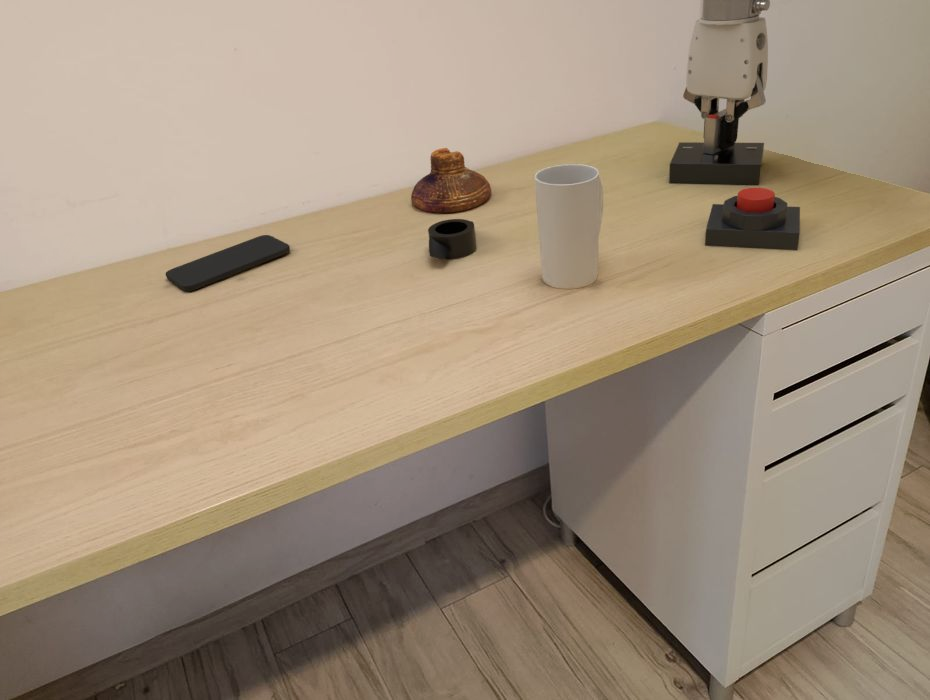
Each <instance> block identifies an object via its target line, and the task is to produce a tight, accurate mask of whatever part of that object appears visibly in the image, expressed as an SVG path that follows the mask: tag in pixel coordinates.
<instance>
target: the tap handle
mask: <svg viewBox="0 0 930 700" xmlns="http://www.w3.org/2000/svg"><path fill="white" fill-rule="evenodd" d="M725 115H726V108H724V109H722V110H720V111H718V113H715V114H713V115H712V114H711V115H708V116H707V118H705V119H704V121H705V132H704V131H703V143H704V147H703V153H706V154H715V153H717V152H719V151H721V149H720V148H719V145H720V131H721V123H722V122H723V121H725Z"/></svg>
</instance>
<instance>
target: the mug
mask: <svg viewBox="0 0 930 700" xmlns="http://www.w3.org/2000/svg"><path fill="white" fill-rule="evenodd" d="M534 187H535V188H534V189H535V190H534V191H535V203H536V204H535V205H536V216H537V228H538V229H537V230H538V231H537V232H538V241H539V243H538V244H539V257H540V267H541V277H542V281H543V283H545V284H546V285H547V286H549V287H552V288H555V289H561V290H575V289H581V288H585V287H588V286H590V285H592V284H593V283H594V282H595V281H596V280H598V277H599V275H598V273H599V253H600V252H599V245H600V244H599V240H600V239H599V237H600V234H601V226H602V221H603V213H604V189H603V185H602V181H601V178H600V170H599V169H598V168H596V167H594V166H591V165H589V164H581V163H565V164H557V165H552V166H548V167H545V168H541V169H540V170H539V171H537V172H536V173H535V174H534Z"/></svg>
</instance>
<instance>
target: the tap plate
mask: <svg viewBox="0 0 930 700" xmlns="http://www.w3.org/2000/svg"><path fill="white" fill-rule="evenodd" d="M703 147H704V142H702V141H701V142H696V141H695V142H693V141H692V142H691V141H690V142H688V141H687V142H684V141H683V142H680V141H679V142H678V145H677V146H676V149H675V151H674V154H673V156H672V158H671V161H670V162H669V177H668V178H669V179H668V183H669V184H672V185H673V184H675V185H677V184H678V185H712V186H713V185H714V186H715V185H716V186H717V185H718V186H757V187H758V186H760V182H761V181H760V180H761V173H762V168H763V167H762V165H763V158H764V150H765V149H764V148H765V142H735V144H734V145H733V146H732V147H730V148H728V149H726V150H721V151H719V152H717V153H715V154H706V153H703Z"/></svg>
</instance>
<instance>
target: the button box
mask: <svg viewBox="0 0 930 700" xmlns="http://www.w3.org/2000/svg"><path fill="white" fill-rule="evenodd" d="M737 197H738V195H734V196H731V197H730V198H727V199H725V200H724V201H723V204H722V203H712V206H711V209H710V213H709V215H708V216H709V217H708V220H707V224H706V228H705V240H704V247H719V248H720V247H723V248H741V249H742V248H743V249H758V250H759V249H760V250H761V249H762V250H764V249H765V250H779V251H780V250H781V251H798V248H799V242H800V234H801V206H788V202H786V201H785V200H784V199H782V198H780V197H778V196H775V198H774V206H773V209H772V210H770V211H764V212H747V211H743V210H739V209H738V208H737Z"/></svg>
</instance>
